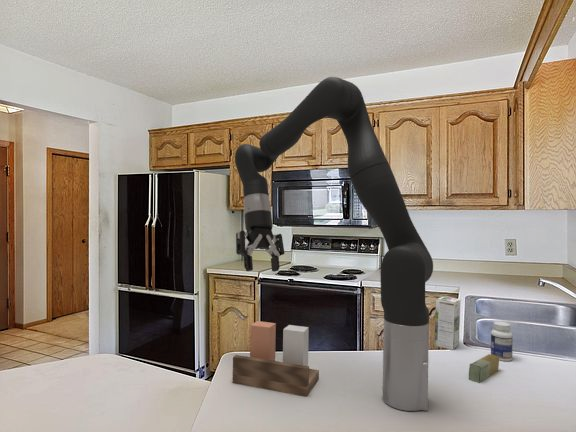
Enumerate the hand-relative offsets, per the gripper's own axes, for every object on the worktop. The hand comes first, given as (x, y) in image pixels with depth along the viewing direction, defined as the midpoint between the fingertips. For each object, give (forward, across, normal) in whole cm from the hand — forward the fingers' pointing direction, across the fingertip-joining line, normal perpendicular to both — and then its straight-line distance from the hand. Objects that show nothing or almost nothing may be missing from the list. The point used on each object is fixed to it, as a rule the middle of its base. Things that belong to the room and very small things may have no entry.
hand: (262, 271), depth 103 cm
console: (+27, -2, -4) cm, 27 cm away
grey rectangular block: (+25, +2, -7) cm, 26 cm away
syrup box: (+26, +55, -17) cm, 63 cm away
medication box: (+32, +42, -33) cm, 62 cm away
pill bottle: (+30, +57, -31) cm, 72 cm away
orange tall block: (+23, -3, 0) cm, 23 cm away
